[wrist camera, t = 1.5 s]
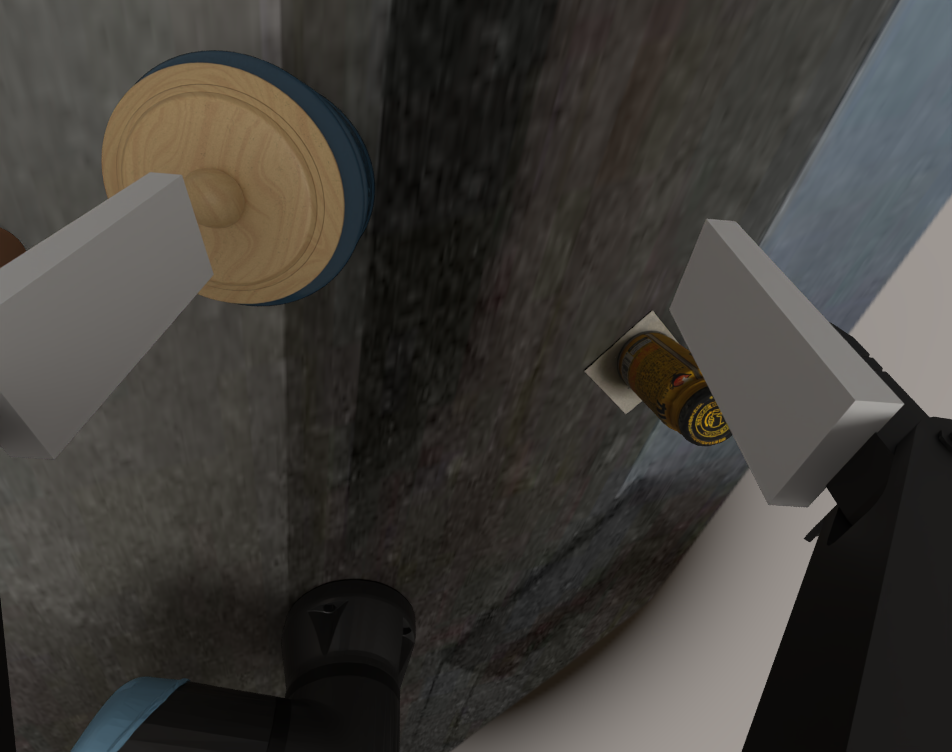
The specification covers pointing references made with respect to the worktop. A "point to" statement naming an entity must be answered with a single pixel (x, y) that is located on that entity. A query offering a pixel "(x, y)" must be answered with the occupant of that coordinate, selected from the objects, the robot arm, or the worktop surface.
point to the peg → (9, 247)
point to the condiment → (661, 382)
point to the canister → (248, 170)
